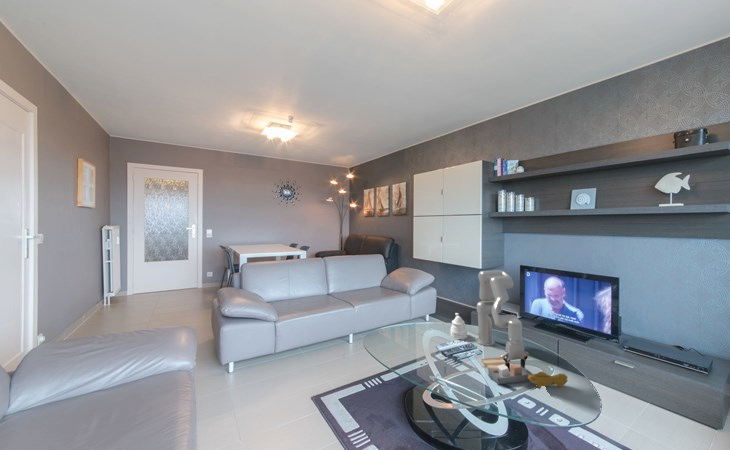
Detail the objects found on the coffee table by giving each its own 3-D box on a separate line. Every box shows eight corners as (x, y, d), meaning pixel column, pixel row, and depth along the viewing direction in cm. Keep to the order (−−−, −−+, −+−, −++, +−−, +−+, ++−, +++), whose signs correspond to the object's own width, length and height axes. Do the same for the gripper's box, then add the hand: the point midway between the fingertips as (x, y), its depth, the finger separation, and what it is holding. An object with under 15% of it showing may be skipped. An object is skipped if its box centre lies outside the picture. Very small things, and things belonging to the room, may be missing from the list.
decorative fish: (528, 387, 164) (532, 370, 164) (525, 384, 167) (528, 367, 167) (566, 393, 165) (569, 376, 165) (562, 390, 168) (565, 373, 168)
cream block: (499, 375, 178) (497, 366, 178) (506, 373, 178) (503, 364, 178) (503, 379, 174) (501, 370, 173) (510, 377, 174) (508, 367, 173)
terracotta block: (510, 374, 179) (510, 364, 178) (517, 373, 179) (517, 363, 179) (514, 378, 174) (514, 368, 174) (522, 377, 175) (521, 367, 174)
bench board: (481, 361, 195) (481, 359, 195) (503, 359, 197) (503, 356, 197) (492, 373, 182) (492, 370, 181) (516, 370, 183) (516, 367, 183)
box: (488, 374, 181) (488, 368, 181) (521, 370, 183) (521, 364, 183) (498, 385, 170) (498, 378, 170) (533, 381, 172) (533, 374, 172)
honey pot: (447, 334, 240) (446, 312, 239) (460, 331, 243) (460, 310, 242) (456, 340, 227) (456, 318, 226) (470, 337, 231) (470, 315, 230)
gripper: (524, 336, 180) (524, 362, 182) (498, 338, 178) (498, 365, 180) (532, 341, 173) (532, 369, 174) (505, 344, 171) (505, 372, 172)
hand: (515, 367), depth 177 cm, fingers open, 9 cm apart
